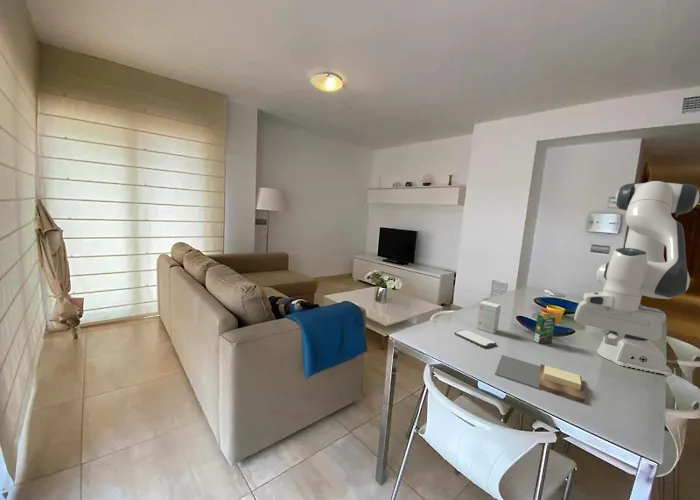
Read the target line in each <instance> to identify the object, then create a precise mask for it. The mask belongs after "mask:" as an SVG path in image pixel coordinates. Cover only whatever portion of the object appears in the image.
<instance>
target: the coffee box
mask: <svg viewBox="0 0 700 500" xmlns="http://www.w3.org/2000/svg"><path fill="white" fill-rule="evenodd" d="M556 317H557V315H556V314H554V313H552V312H551V313H540V314H539V313H538V314H537V317H536V324H535V331H534V337H533V342H535V343H536V344H537V345H538V344H539V345H540V344H551V343H552V342H553V335H554V330H555V324H556V319H557V318H556Z"/></svg>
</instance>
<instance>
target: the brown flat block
mask: <svg viewBox="0 0 700 500" xmlns="http://www.w3.org/2000/svg"><path fill="white" fill-rule="evenodd" d="M540 366H541V367H540V379H539V388H542V390H541V391H545V392H548V393H551V394H553V395H554V394H555V395H557V396H559V397H563V398H566V399H569V400H572V401H575V402H578V403H580V404H585V403H586V396H585V389H584V385H583V379H582V375H580V380H581V389H580V390H577V389H574V388H571V387H568V386H565V385H561V384H558V383H555V382H552V381H549V380H546V379H543V376H544V367H545V364H540Z"/></svg>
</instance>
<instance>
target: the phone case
mask: <svg viewBox="0 0 700 500" xmlns="http://www.w3.org/2000/svg"><path fill="white" fill-rule="evenodd" d="M454 335H455V336H457V337H459V338H461V339H464V340H465V341H467V342H469V341H470V342H469V343H471V344H473V343H474V344H473V345H475V344H476V345H475V346H477V347H479V346H480V348H482V349H485V350H486V349H489V348H490V349H491V348H494V347H496V345H497V342H496V341H494V340H492V339H489V338H487V337H484V336H482V335H480V334H477V333H475V332H472V331H470V330H467V329H462V330H458V331H455V332H454Z"/></svg>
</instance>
